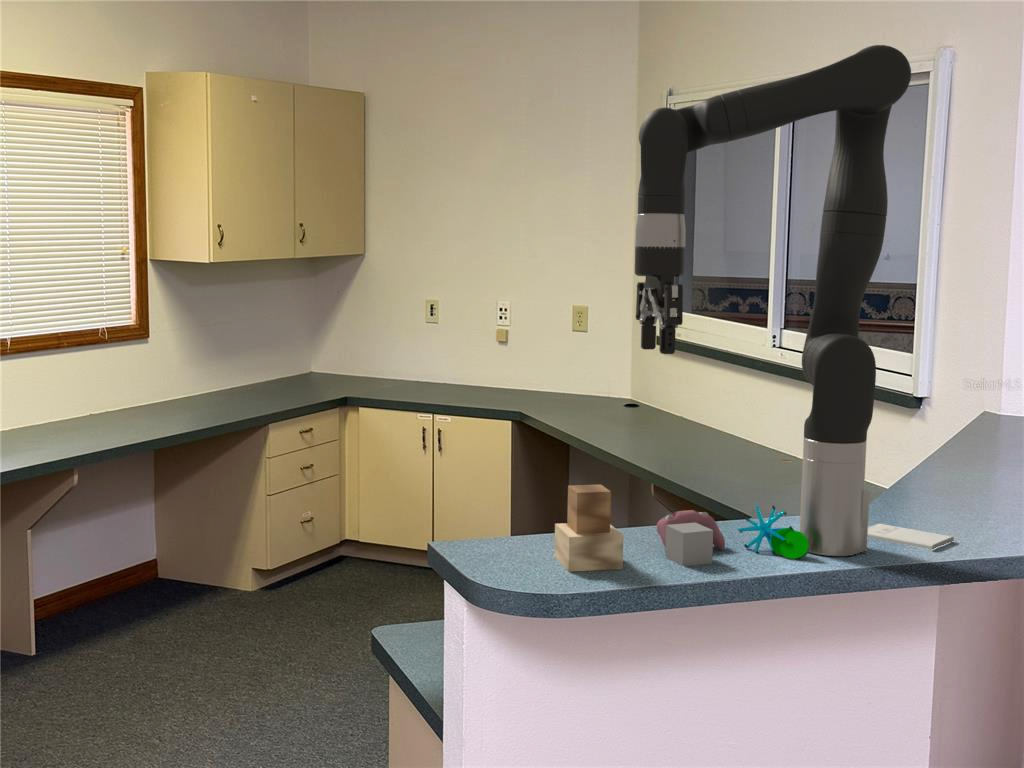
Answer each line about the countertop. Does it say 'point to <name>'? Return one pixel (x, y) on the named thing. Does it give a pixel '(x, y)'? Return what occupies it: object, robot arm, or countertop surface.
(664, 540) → the video game controller
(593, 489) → the walnut block
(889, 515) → the countertop surface
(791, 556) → the stick construction toy
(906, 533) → the external hard drive
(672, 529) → the grey cube
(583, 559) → the birch block
